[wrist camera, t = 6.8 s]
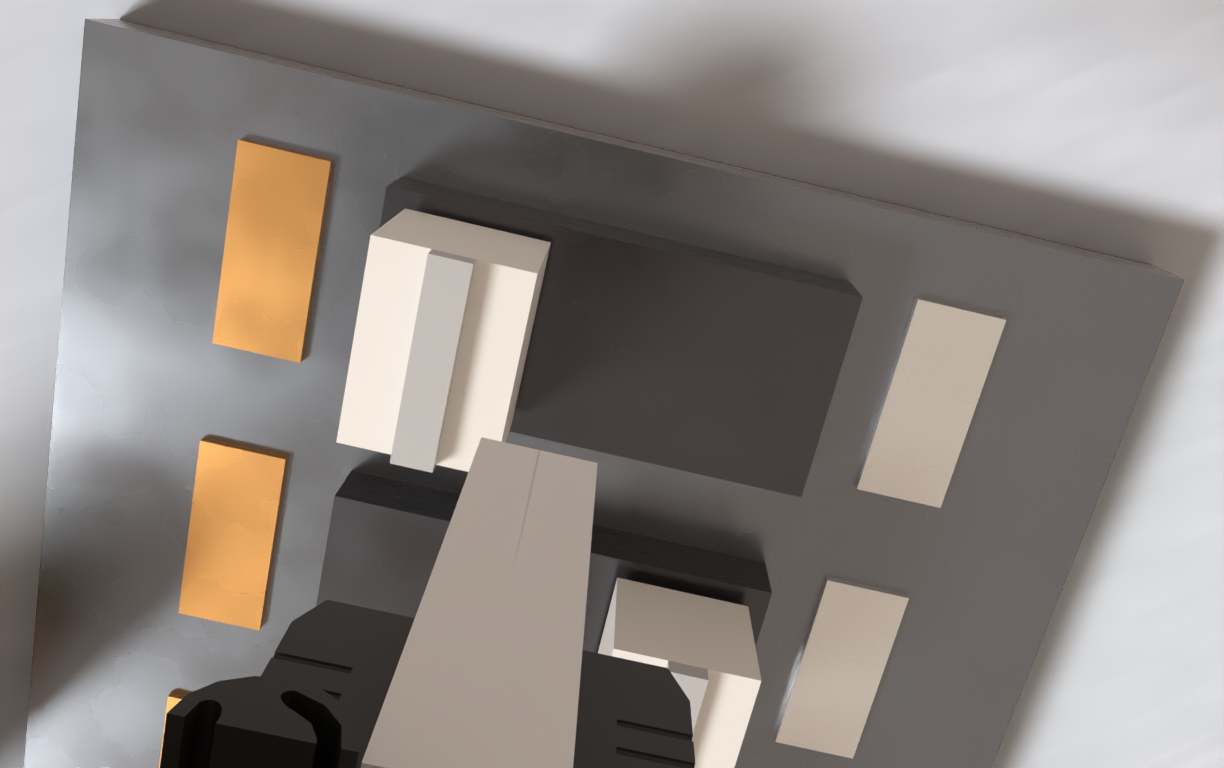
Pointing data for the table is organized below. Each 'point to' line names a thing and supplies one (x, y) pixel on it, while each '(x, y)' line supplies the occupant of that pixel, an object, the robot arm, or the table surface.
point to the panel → (300, 408)
